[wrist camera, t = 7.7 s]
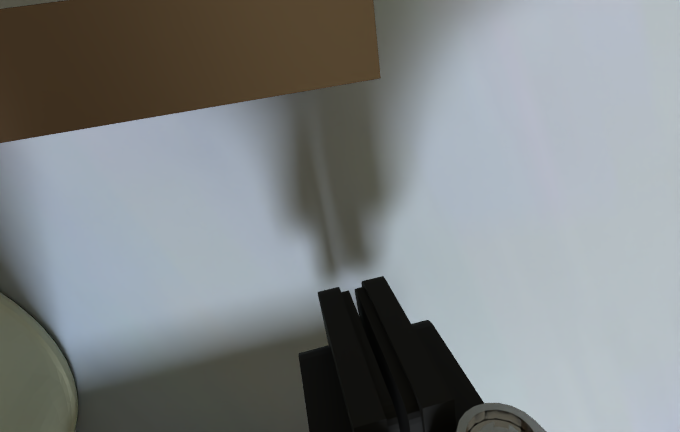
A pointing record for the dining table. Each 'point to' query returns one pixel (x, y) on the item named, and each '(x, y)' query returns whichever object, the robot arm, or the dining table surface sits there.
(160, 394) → the dining table surface
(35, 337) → the can
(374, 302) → the robot arm
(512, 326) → the dining table surface
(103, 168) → the dining table surface
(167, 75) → the channel
